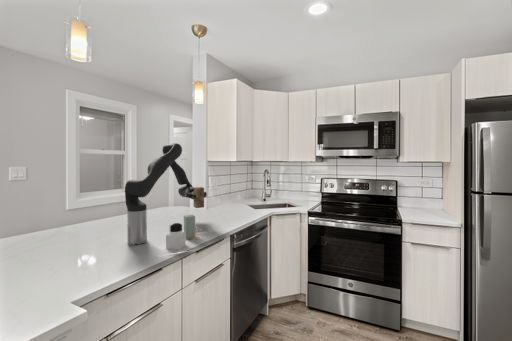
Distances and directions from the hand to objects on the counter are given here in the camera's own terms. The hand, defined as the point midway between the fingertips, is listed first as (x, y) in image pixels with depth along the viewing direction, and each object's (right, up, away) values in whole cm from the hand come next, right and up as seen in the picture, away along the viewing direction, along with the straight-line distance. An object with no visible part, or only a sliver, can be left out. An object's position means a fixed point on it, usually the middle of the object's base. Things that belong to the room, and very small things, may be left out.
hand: (200, 196), depth 155 cm
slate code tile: (-1, -22, +3) cm, 22 cm away
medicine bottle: (-6, -23, -27) cm, 36 cm away
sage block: (-3, -22, -12) cm, 25 cm away
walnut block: (-1, -7, +3) cm, 7 cm away
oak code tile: (-3, -22, -12) cm, 25 cm away
